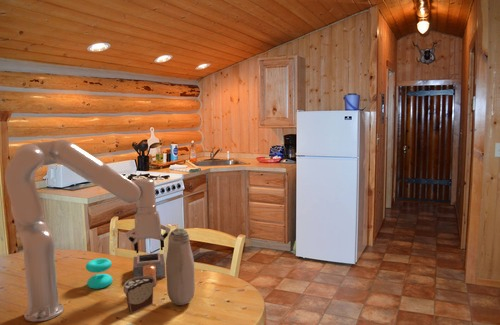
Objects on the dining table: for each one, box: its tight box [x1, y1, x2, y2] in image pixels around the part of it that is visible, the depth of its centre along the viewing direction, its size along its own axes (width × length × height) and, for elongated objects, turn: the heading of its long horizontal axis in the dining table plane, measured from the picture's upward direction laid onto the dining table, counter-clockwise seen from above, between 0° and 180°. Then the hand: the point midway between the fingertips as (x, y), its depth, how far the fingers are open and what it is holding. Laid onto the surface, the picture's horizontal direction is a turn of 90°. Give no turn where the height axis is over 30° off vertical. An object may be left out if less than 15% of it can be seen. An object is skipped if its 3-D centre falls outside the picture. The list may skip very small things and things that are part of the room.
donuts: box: [85, 257, 114, 290], centre depth 170 cm, size 10×10×10 cm
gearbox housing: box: [132, 252, 166, 279], centre depth 181 cm, size 13×13×7 cm
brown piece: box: [122, 276, 155, 315], centre depth 151 cm, size 12×6×10 cm, turn 141°
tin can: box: [143, 265, 157, 288], centre depth 169 cm, size 5×5×8 cm
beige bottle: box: [165, 228, 196, 306], centre depth 152 cm, size 10×10×28 cm
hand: (149, 250), depth 167 cm, fingers open, 9 cm apart
